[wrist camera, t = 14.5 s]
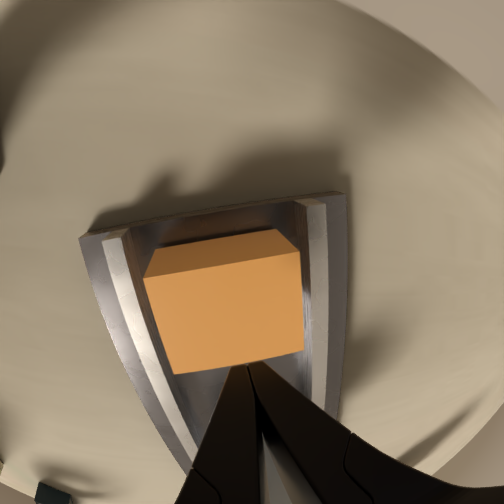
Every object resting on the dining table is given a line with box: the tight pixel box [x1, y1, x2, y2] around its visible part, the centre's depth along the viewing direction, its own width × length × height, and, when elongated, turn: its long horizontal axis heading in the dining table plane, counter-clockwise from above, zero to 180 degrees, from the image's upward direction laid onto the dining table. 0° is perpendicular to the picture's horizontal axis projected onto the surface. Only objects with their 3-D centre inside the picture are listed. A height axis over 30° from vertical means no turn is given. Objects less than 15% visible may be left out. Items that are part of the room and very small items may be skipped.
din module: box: [262, 434, 292, 504], centre depth 14 cm, size 4×5×8 cm
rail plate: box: [78, 191, 348, 475], centre depth 15 cm, size 23×12×2 cm, turn 7°
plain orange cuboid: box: [143, 229, 304, 374], centre depth 11 cm, size 4×5×3 cm
